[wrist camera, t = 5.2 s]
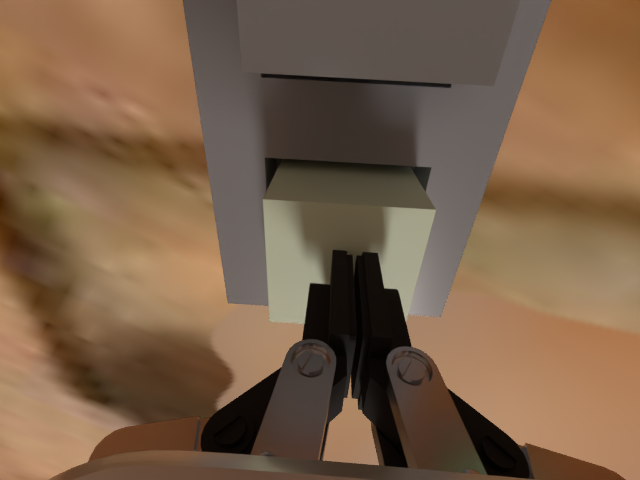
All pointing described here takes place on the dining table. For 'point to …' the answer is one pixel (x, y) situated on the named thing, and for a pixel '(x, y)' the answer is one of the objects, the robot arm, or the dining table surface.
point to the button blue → (377, 38)
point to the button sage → (341, 227)
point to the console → (346, 141)
